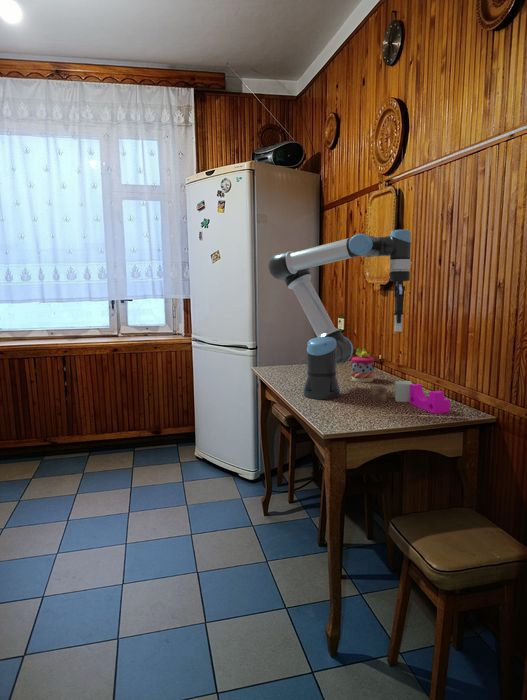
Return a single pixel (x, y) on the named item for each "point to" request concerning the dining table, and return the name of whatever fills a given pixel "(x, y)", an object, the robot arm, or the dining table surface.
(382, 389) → the walnut block
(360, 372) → the cake
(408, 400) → the sage block
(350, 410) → the dining table surface
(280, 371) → the dining table surface
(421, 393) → the toy block
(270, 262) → the robot arm
